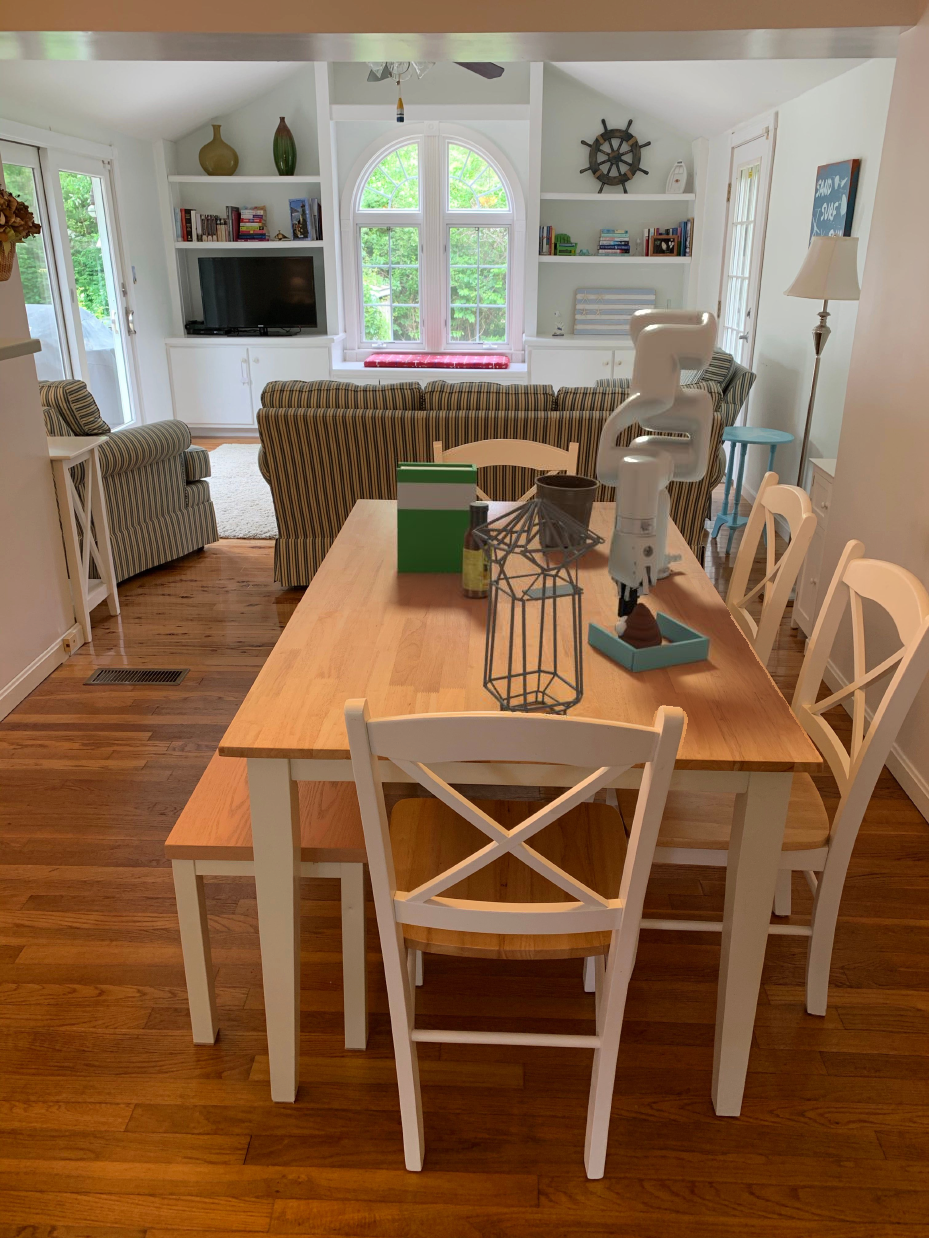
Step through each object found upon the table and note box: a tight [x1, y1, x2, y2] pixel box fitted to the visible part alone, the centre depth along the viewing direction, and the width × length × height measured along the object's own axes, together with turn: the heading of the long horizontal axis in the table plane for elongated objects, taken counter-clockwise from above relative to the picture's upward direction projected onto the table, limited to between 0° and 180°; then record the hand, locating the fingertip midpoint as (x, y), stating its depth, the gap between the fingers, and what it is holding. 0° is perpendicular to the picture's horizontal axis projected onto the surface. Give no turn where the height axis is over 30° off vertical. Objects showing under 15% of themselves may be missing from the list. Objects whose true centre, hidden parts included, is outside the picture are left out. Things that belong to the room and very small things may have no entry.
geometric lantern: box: [471, 497, 607, 716], centre depth 142 cm, size 16×16×35 cm
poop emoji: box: [614, 602, 663, 649], centre depth 174 cm, size 10×8×9 cm
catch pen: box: [587, 611, 711, 673], centre depth 173 cm, size 16×15×4 cm
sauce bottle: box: [461, 501, 494, 599], centre depth 198 cm, size 6×6×20 cm
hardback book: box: [396, 461, 478, 575], centre depth 214 cm, size 18×7×24 cm, turn 91°
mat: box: [521, 583, 584, 598], centre depth 204 cm, size 12×6×1 cm, turn 115°
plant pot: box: [534, 474, 600, 548], centre depth 238 cm, size 16×16×16 cm
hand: (626, 617), depth 179 cm, fingers closed
